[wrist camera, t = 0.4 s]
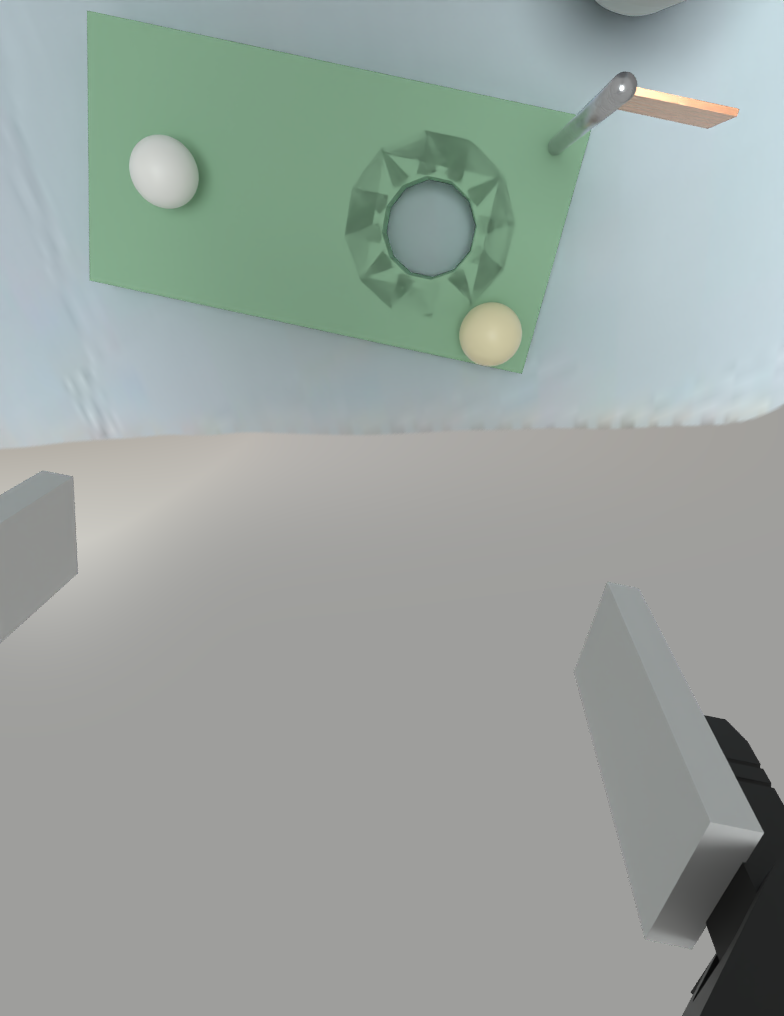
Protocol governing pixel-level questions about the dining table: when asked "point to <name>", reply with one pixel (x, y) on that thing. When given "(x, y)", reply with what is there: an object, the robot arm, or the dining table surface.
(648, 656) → the robot arm
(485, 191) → the green
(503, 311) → the yellow ball
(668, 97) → the flag
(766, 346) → the dining table surface
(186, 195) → the ball
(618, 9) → the cup
